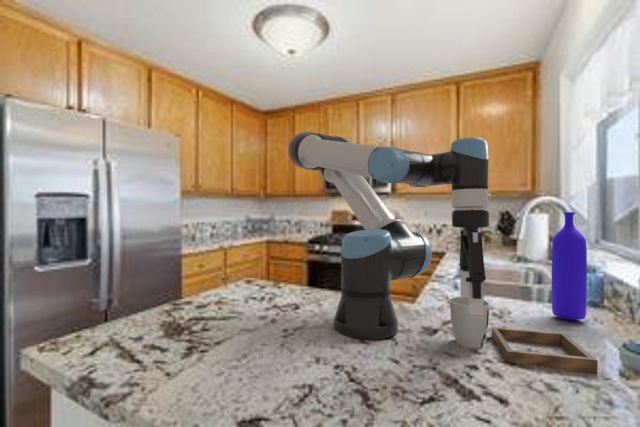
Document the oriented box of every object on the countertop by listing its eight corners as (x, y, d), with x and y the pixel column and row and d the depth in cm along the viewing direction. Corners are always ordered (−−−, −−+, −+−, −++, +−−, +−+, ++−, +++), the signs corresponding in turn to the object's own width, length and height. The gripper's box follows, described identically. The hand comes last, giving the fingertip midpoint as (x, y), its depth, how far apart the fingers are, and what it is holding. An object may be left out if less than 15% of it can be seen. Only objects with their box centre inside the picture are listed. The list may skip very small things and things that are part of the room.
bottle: (555, 318, 99) (555, 211, 99) (548, 310, 106) (548, 211, 106) (591, 321, 96) (591, 211, 95) (581, 313, 103) (581, 211, 103)
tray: (507, 364, 69) (507, 351, 69) (491, 337, 83) (491, 327, 83) (597, 373, 65) (597, 360, 65) (564, 344, 79) (564, 333, 79)
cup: (494, 355, 73) (494, 307, 73) (452, 352, 74) (453, 305, 74) (484, 341, 81) (484, 298, 81) (446, 338, 82) (447, 296, 82)
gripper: (501, 207, 64) (503, 323, 64) (478, 210, 88) (479, 294, 88) (458, 208, 66) (459, 320, 66) (447, 210, 90) (448, 292, 90)
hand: (471, 305), depth 77 cm, fingers open, 13 cm apart
